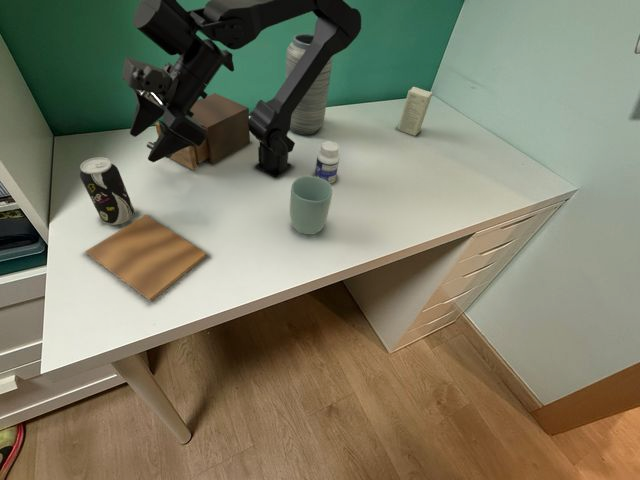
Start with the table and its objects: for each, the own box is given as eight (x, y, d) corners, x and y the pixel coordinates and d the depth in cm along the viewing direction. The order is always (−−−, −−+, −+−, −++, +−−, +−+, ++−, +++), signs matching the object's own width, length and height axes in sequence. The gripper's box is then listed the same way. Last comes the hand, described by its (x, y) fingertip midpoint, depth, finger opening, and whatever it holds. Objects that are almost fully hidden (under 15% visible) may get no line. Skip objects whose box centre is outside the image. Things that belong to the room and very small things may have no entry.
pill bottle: (313, 170, 82) (317, 138, 75) (334, 171, 82) (340, 140, 76) (315, 183, 78) (319, 151, 72) (336, 184, 79) (343, 152, 72)
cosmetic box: (419, 131, 103) (434, 92, 94) (414, 136, 100) (429, 97, 92) (401, 124, 105) (413, 85, 96) (396, 129, 102) (408, 90, 93)
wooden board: (207, 256, 59) (206, 253, 59) (150, 301, 52) (149, 298, 51) (146, 217, 64) (145, 214, 63) (86, 254, 56) (85, 251, 56)
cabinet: (212, 164, 78) (207, 127, 71) (179, 147, 82) (171, 110, 75) (250, 142, 87) (248, 107, 80) (218, 127, 90) (214, 92, 83)
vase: (275, 127, 94) (277, 37, 78) (298, 113, 101) (304, 28, 85) (309, 141, 91) (318, 51, 74) (330, 127, 98) (343, 41, 82)
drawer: (177, 179, 72) (169, 147, 66) (146, 161, 75) (136, 130, 69) (231, 148, 82) (228, 119, 77) (202, 134, 85) (197, 105, 80)
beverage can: (138, 222, 63) (117, 170, 54) (104, 230, 61) (77, 177, 52) (132, 204, 66) (112, 152, 57) (100, 211, 64) (73, 158, 55)
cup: (321, 243, 65) (328, 205, 58) (283, 235, 65) (286, 196, 58) (328, 218, 70) (336, 180, 63) (293, 210, 71) (297, 171, 63)
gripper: (127, 19, 53) (77, 98, 55) (173, 60, 43) (110, 153, 46) (184, 65, 62) (139, 131, 65) (231, 107, 53) (176, 182, 56)
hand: (141, 147), depth 57 cm, fingers open, 9 cm apart
